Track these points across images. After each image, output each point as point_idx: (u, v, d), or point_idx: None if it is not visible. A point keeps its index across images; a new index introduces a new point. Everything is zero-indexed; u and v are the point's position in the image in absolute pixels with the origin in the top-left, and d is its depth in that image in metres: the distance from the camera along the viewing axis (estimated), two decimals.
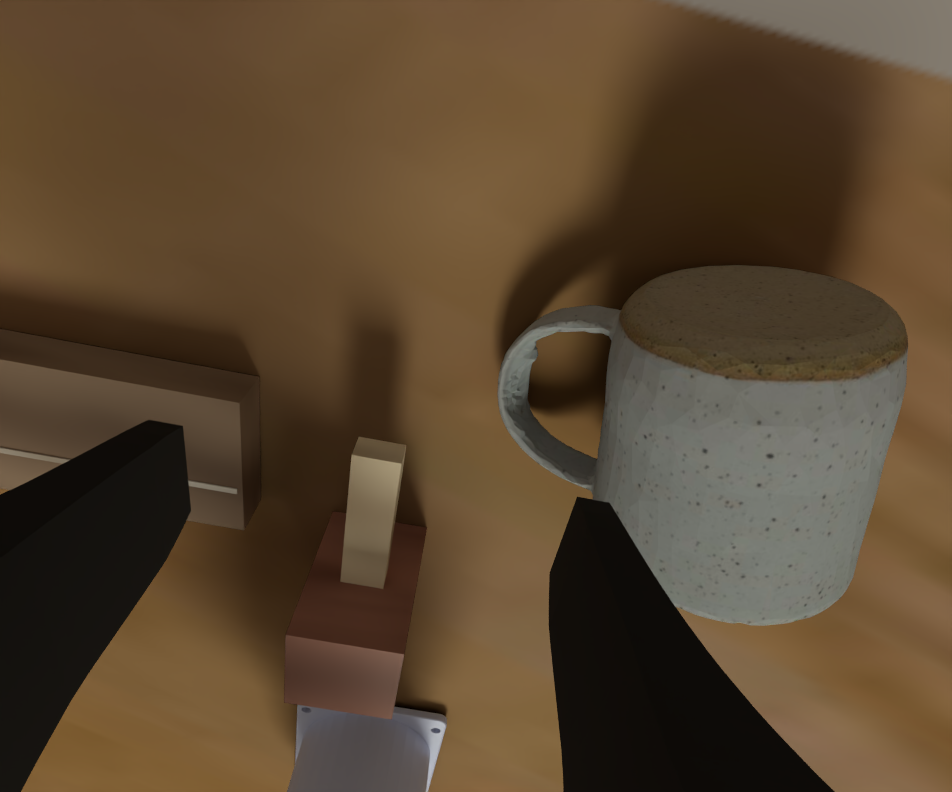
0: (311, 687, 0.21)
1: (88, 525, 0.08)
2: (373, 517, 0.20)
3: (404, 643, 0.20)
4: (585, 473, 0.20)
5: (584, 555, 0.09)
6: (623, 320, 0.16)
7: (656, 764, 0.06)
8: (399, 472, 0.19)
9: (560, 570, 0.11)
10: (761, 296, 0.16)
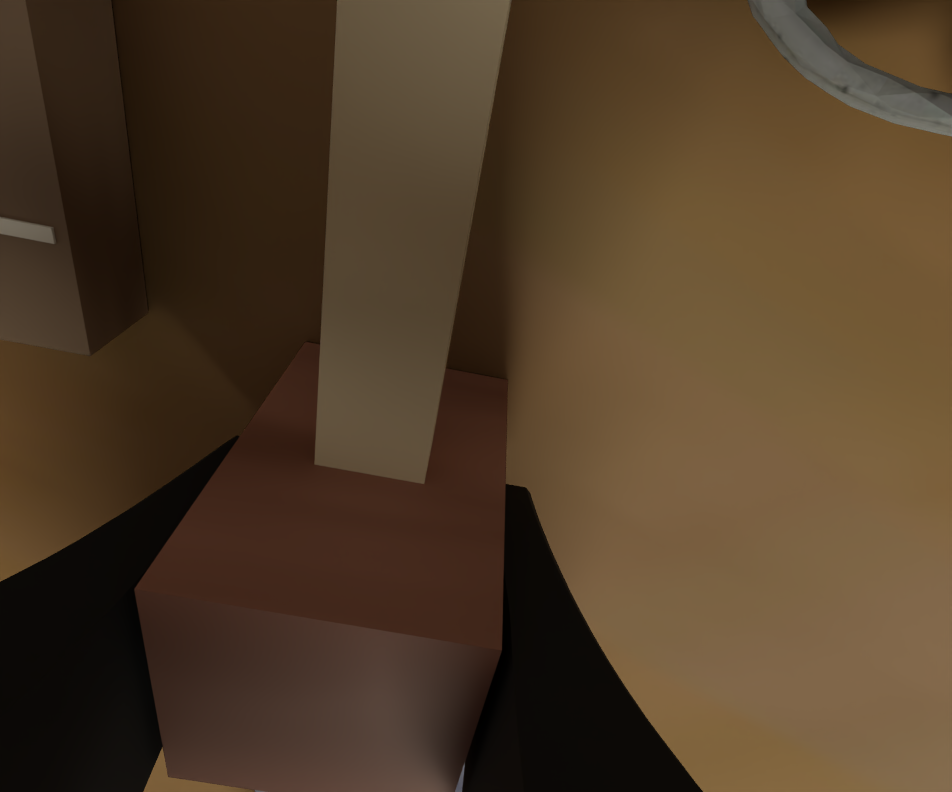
0: (233, 739, 0.08)
1: None
2: (405, 239, 0.07)
3: (497, 618, 0.07)
4: None
5: None
6: None
7: (510, 741, 0.06)
8: (500, 38, 0.06)
9: None
10: None
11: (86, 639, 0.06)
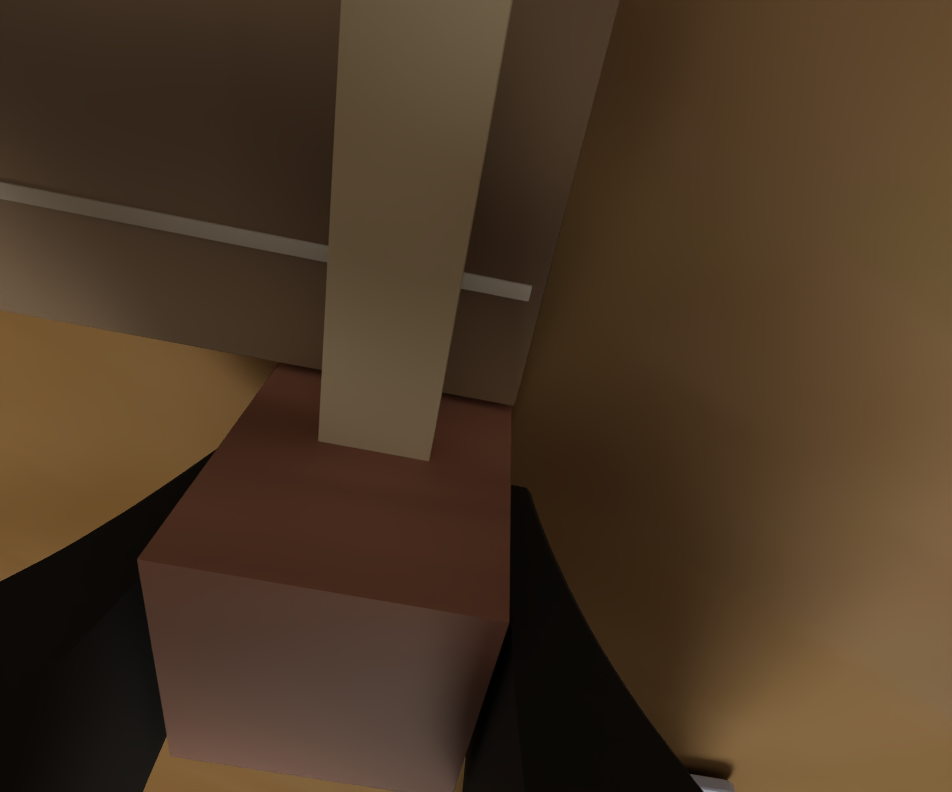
0: (236, 718, 0.08)
1: None
2: (411, 206, 0.07)
3: (504, 591, 0.07)
4: None
5: None
6: None
7: (511, 740, 0.06)
8: None
9: None
10: None
11: (86, 639, 0.06)
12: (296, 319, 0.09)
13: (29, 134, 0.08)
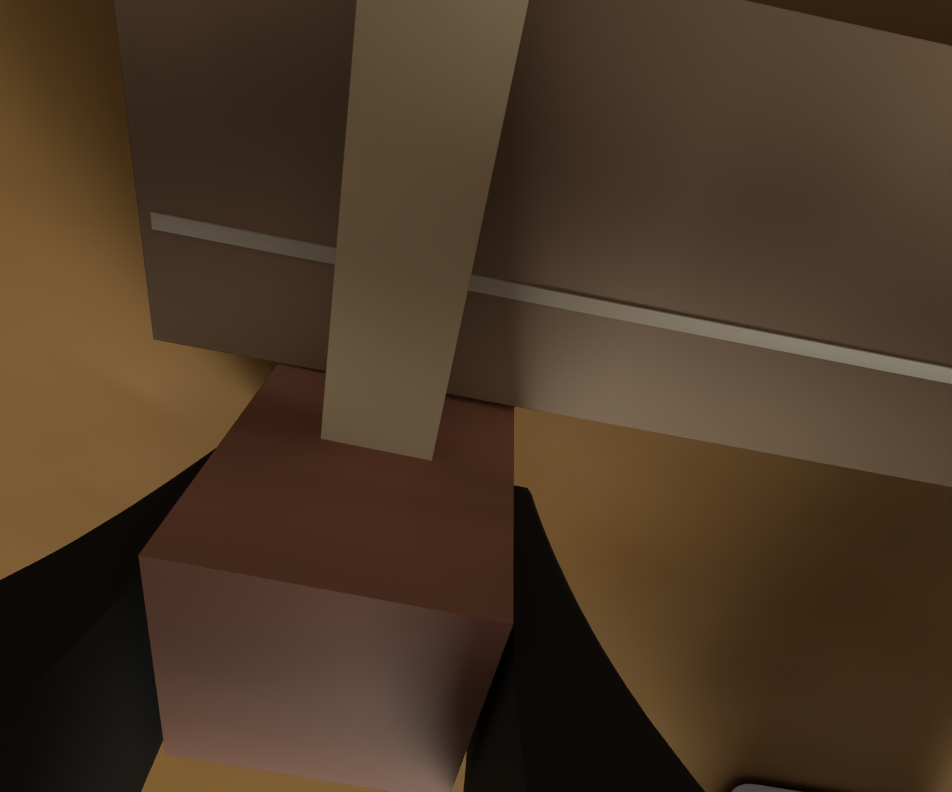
0: (234, 716, 0.08)
1: None
2: (422, 203, 0.07)
3: (508, 592, 0.07)
4: None
5: None
6: None
7: (512, 741, 0.06)
8: None
9: None
10: None
11: (83, 638, 0.06)
12: (783, 411, 0.10)
13: (597, 248, 0.08)
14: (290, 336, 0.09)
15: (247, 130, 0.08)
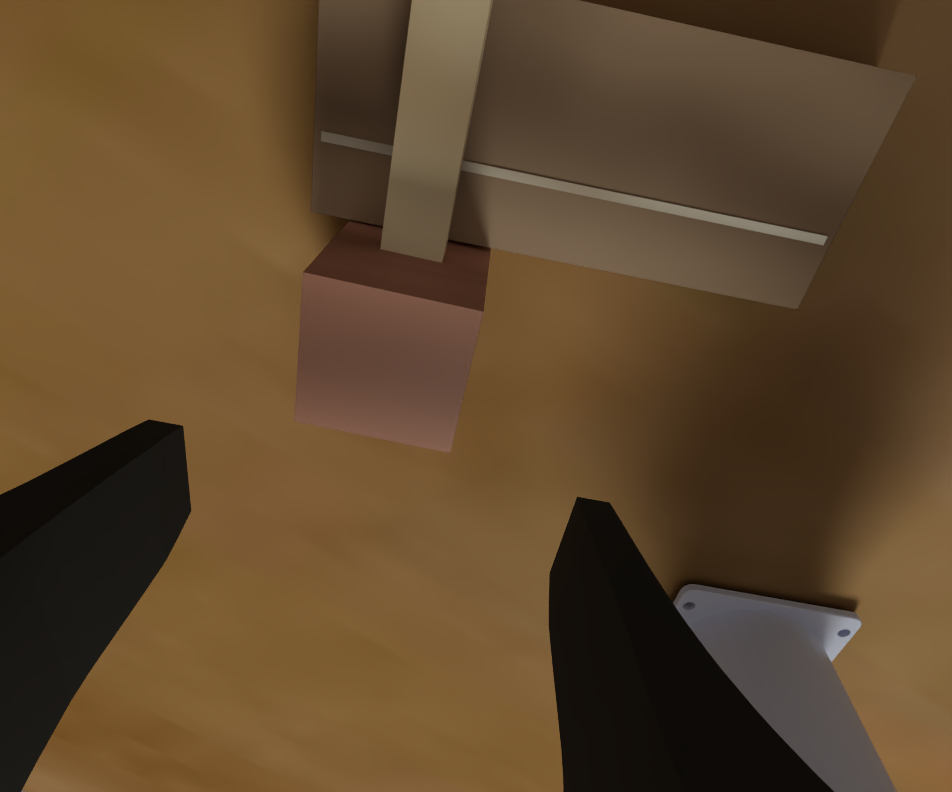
0: (336, 387, 0.14)
1: (88, 525, 0.08)
2: (439, 107, 0.13)
3: (481, 303, 0.13)
4: None
5: (584, 555, 0.09)
6: None
7: (656, 764, 0.06)
8: (488, 4, 0.12)
9: (560, 570, 0.11)
10: None
11: None
12: (684, 256, 0.16)
13: (572, 152, 0.15)
14: None
15: (381, 83, 0.14)
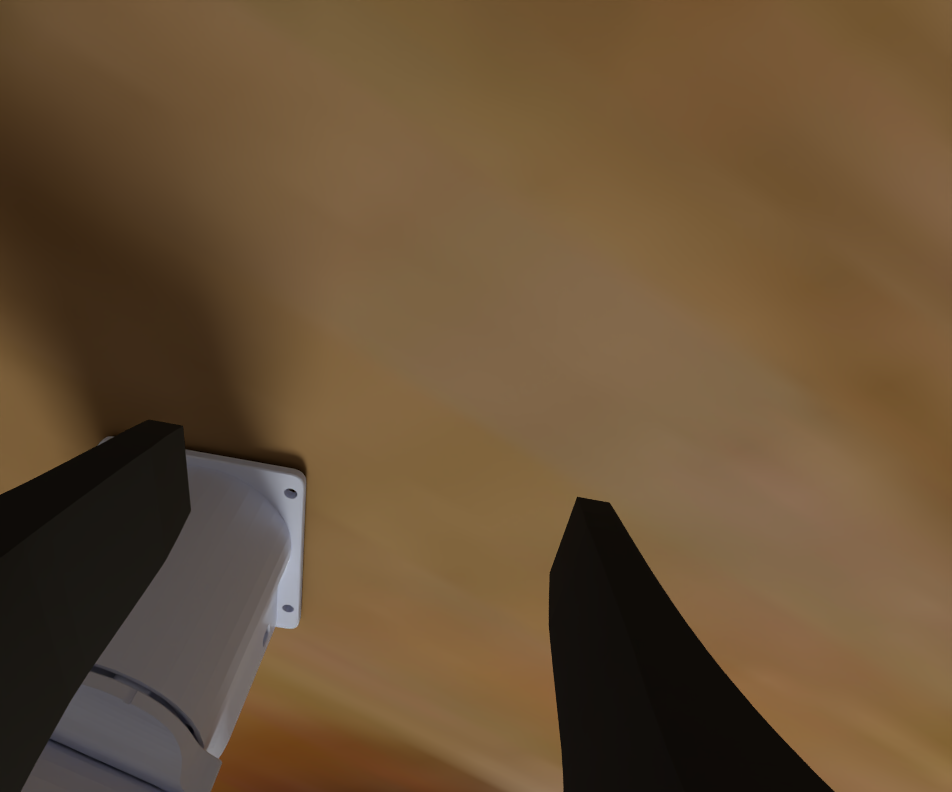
0: None
1: (88, 525, 0.08)
2: None
3: None
4: None
5: (584, 555, 0.09)
6: None
7: (656, 764, 0.06)
8: None
9: (560, 570, 0.11)
10: None
11: None
12: None
13: None
14: None
15: None
